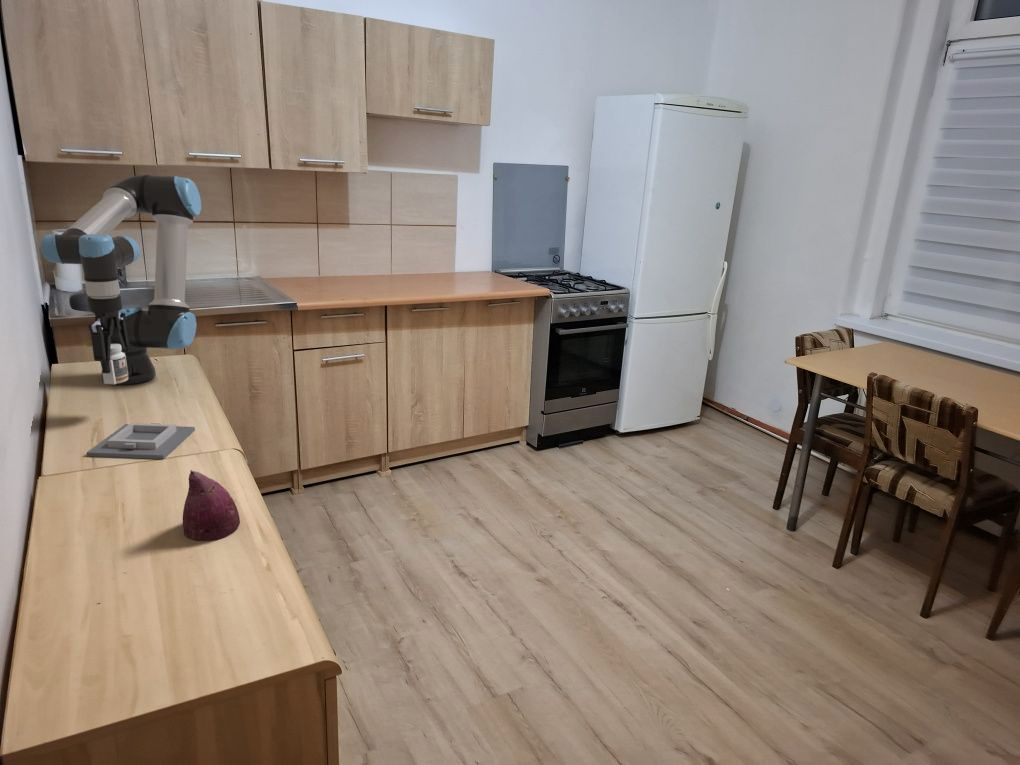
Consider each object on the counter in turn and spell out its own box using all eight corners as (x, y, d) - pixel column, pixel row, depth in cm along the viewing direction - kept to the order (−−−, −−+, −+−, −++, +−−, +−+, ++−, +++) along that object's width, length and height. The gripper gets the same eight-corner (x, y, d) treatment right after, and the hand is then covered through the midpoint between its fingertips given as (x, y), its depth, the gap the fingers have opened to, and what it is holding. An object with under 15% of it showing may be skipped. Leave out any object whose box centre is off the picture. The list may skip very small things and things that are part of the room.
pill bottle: (133, 378, 182) (128, 343, 179) (119, 385, 177) (114, 349, 173) (113, 376, 182) (108, 342, 179) (99, 383, 177) (93, 348, 174)
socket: (125, 427, 176) (124, 417, 175) (195, 430, 177) (194, 420, 176) (87, 456, 159) (85, 445, 158) (163, 459, 160) (162, 448, 159)
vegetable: (192, 559, 127) (164, 501, 119) (184, 527, 135) (157, 471, 127) (247, 535, 132) (223, 478, 124) (236, 506, 139) (213, 450, 131)
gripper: (108, 287, 180) (120, 367, 188) (67, 303, 163) (82, 391, 170) (136, 288, 181) (147, 369, 188) (98, 304, 163) (112, 392, 171)
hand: (116, 379), depth 179 cm, fingers closed on pill bottle, 6 cm apart
